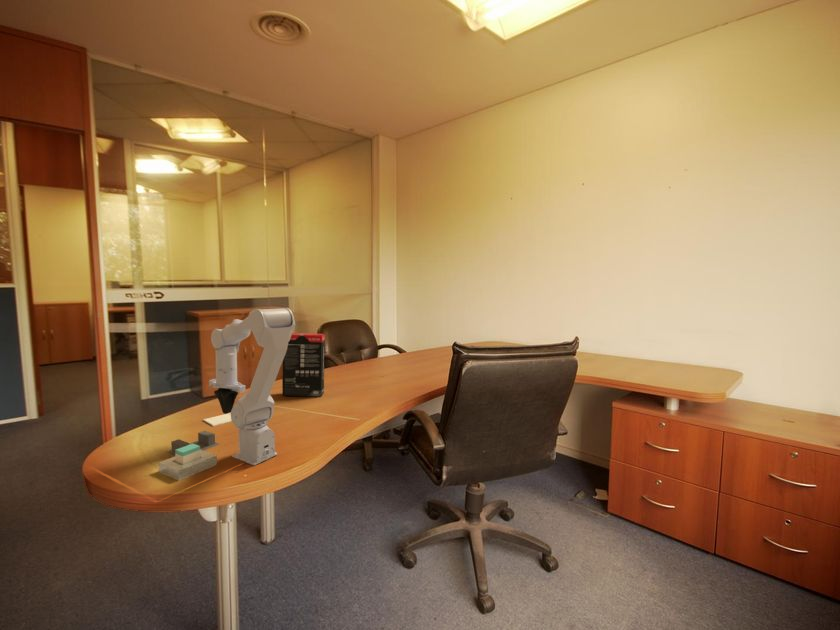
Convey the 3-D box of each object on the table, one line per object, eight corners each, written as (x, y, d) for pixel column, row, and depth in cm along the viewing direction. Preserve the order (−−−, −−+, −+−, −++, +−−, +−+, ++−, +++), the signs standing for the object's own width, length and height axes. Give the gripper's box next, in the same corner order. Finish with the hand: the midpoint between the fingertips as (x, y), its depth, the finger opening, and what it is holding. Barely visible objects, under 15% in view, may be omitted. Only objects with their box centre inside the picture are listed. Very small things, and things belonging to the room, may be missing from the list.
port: (217, 466, 103) (216, 455, 102) (178, 482, 94) (178, 470, 94) (197, 458, 107) (197, 448, 106) (159, 473, 98) (158, 462, 98)
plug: (200, 468, 101) (200, 446, 101) (183, 475, 97) (182, 452, 97) (193, 465, 103) (192, 443, 102) (175, 472, 99) (175, 449, 98)
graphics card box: (325, 392, 173) (325, 332, 171) (322, 397, 166) (322, 334, 164) (286, 392, 172) (285, 332, 170) (281, 397, 165) (281, 334, 163)
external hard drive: (202, 423, 134) (238, 414, 144) (212, 429, 129) (248, 419, 139) (202, 419, 134) (237, 410, 144) (212, 424, 129) (248, 415, 139)
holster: (220, 445, 115) (220, 434, 115) (182, 459, 106) (182, 447, 105) (203, 440, 119) (203, 429, 119) (166, 453, 110) (165, 441, 109)
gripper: (198, 367, 116) (199, 412, 117) (229, 374, 109) (230, 421, 110) (220, 363, 122) (221, 405, 123) (251, 369, 115) (252, 414, 116)
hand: (227, 412), depth 117 cm, fingers closed
